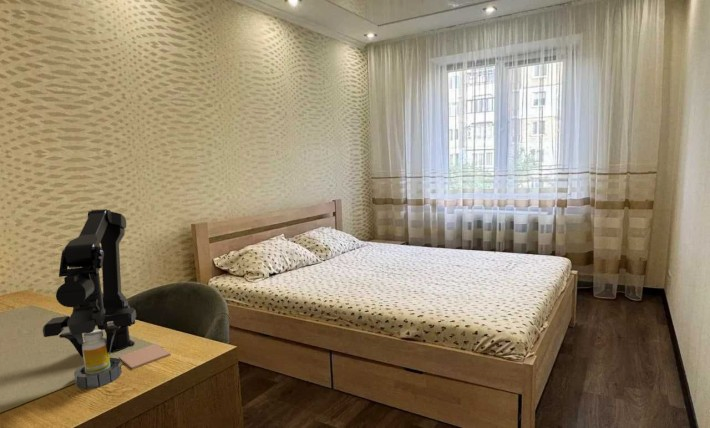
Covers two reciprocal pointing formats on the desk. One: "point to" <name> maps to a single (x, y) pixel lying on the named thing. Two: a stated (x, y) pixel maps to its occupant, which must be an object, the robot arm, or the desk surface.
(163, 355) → the terracotta pad
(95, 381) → the grey segmented ring
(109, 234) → the robot arm
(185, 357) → the desk surface
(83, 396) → the desk surface
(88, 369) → the supplement bottle
